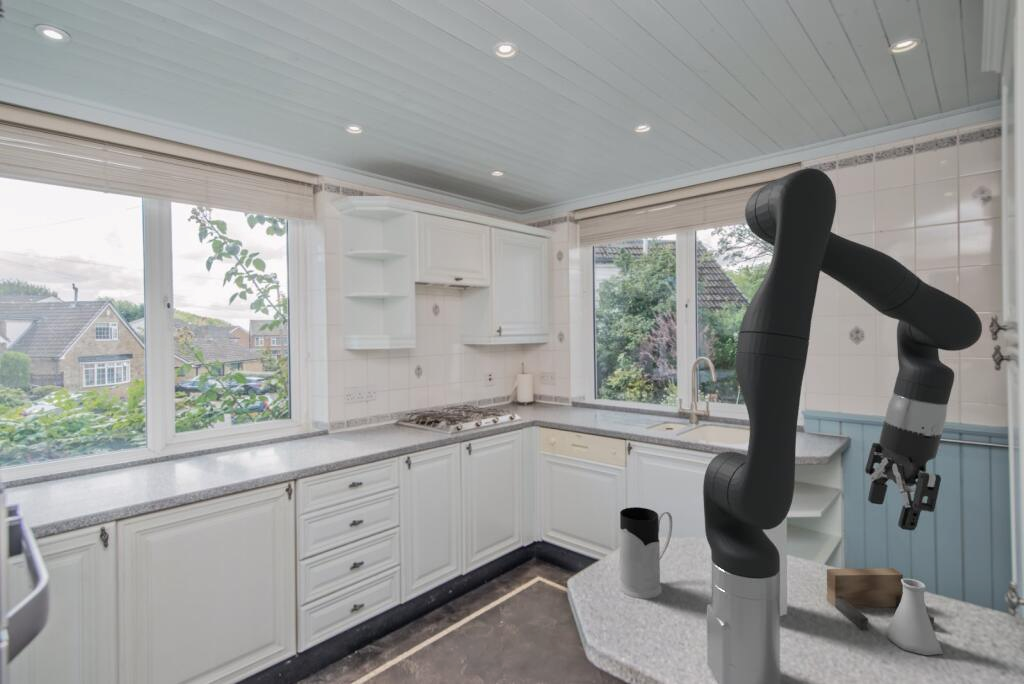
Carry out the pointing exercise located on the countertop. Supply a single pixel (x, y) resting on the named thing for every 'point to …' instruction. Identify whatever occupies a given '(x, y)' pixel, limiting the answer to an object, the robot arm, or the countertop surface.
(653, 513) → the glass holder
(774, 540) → the milk
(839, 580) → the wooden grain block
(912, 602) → the flask
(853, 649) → the countertop surface
